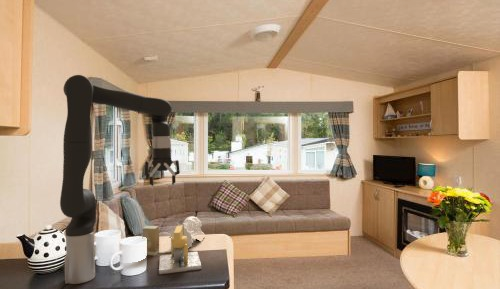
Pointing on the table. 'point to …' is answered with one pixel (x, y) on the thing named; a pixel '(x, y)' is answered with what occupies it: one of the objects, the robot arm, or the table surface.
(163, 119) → the robot arm
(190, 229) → the cherub figurine
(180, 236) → the yellow irregular block
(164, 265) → the post base
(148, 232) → the skincare box
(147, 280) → the table surface
